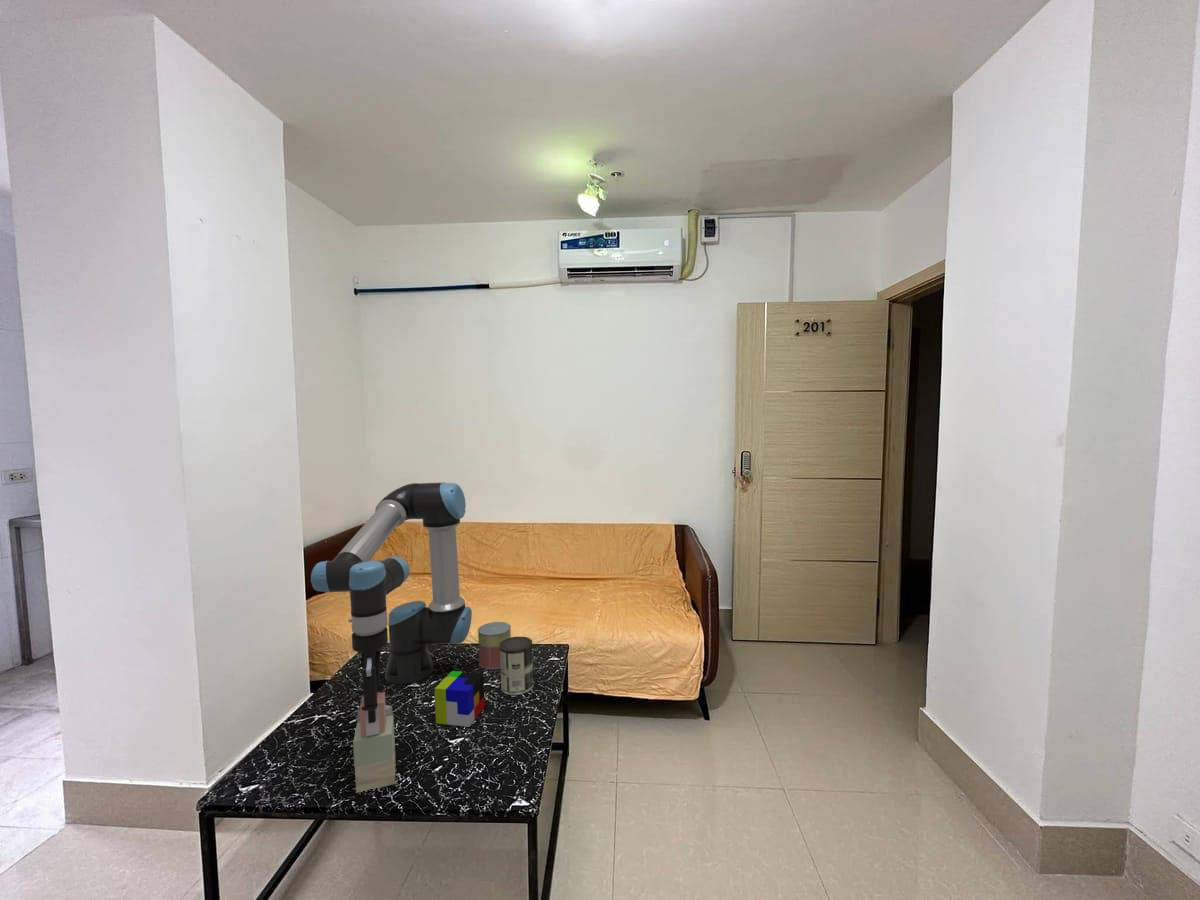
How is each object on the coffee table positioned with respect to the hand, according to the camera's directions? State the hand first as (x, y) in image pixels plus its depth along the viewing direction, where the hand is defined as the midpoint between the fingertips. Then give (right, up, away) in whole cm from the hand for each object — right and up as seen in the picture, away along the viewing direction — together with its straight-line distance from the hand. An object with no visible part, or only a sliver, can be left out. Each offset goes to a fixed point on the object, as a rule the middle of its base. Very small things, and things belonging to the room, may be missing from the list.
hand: (373, 726), depth 115 cm
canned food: (+16, -10, +58) cm, 61 cm away
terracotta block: (0, 0, 0) cm, 0 cm away
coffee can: (+27, -10, +40) cm, 50 cm away
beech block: (0, -12, +1) cm, 12 cm away
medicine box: (-6, -12, +15) cm, 20 cm away
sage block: (0, -6, 0) cm, 6 cm away
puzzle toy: (+13, -11, +26) cm, 31 cm away
